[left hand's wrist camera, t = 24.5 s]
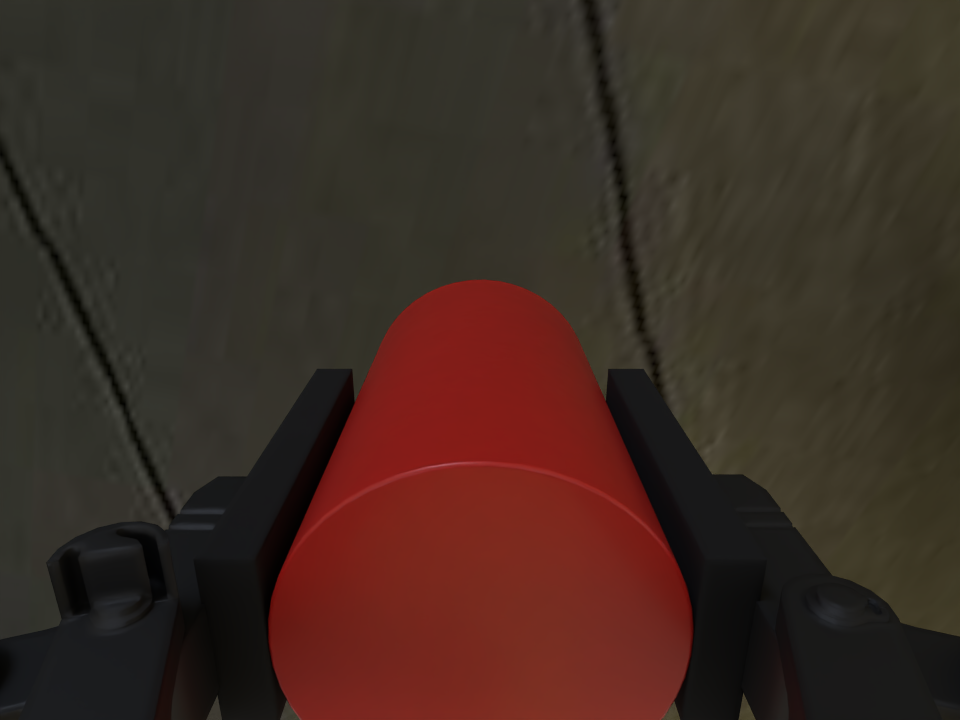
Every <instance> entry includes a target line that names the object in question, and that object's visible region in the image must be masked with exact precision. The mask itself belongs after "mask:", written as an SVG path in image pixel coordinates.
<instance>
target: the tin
mask: <svg viewBox="0 0 960 720" xmlns="http://www.w3.org/2000/svg"><path fill="white" fill-rule="evenodd" d="M693 634H694V626H693V611H692V605H691V601H690V597H689V592H688V588H687V585H686V583H685V580H684V578H683V576H682V573H681V571H680V568H679V566H678V564H677V561H676V559H675V557H674V555H673V552H672V550H671V548H670V546H669V543H668V541H667V539H666V537H665V534H664V532H663V530H662V527H661V525H660V523H659V521H658V518H657V516H656V514H655V512H654V509H653V507H652V505H651V503H650V500H649V498H648V496H647V494H646V491H645V489H644V487H643V485H642V482H641V480H640V478H639V475H638V473H637V471H636V469H635V466H634V464H633V462H632V460H631V457H630V455H629V453H628V451H627V448H626V446H625V444H624V442H623V439H622V437H621V435H620V433H619V430H618V428H617V426H616V423H615V421H614V419H613V417H612V414H611V412H610V410H609V408H608V405H607V403H606V401H605V399H604V396H603V394H602V392H601V390H600V387H599V385H598V383H597V381H596V378H595V376H594V374H593V372H592V369H591V367H590V365H589V362H588V360H587V358H586V356H585V353H584V351H583V349H582V347H581V344H580V342H579V340H578V338H577V336H576V334H575V332H574V331H573V329H572V327H571V326H570V324H569V323H568V322H567V320H566V319H565V318H564V317H563V315H562V314H561V313H560V312H559V311H558V310H557V309H555V308H554V307H553V306H552V305H551V304H550V303H548V302H547V301H546V300H544V299H543V298H541V297H540V296H538V295H536V294H535V293H533V292H531V291H529V290H527V289H524V288H522V287H519V286H516V285H513V284H509V283H505V282H500V281H492V280H468V281H462V282H456V283H452V284H449V285H445V286H442V287H440V288H437V289H435V290H433V291H431V292H428V293H427V294H425V295H423V296H422V297H420V298H419V299H417V300H415V301H414V302H413V303H412V304H411V305H409V306H408V307H407V308H406V309H405V310H404V311H403V312H402V313H401V314H400V315H399V316H398V317H397V318H396V319H395V321H394V322H393V324H392V325H391V326H390V328H389V329H388V331H387V333H386V335H385V337H384V339H383V341H382V343H381V345H380V347H379V350H378V352H377V354H376V356H375V359H374V361H373V363H372V365H371V368H370V370H369V372H368V374H367V377H366V379H365V381H364V383H363V386H362V388H361V390H360V392H359V395H358V397H357V399H356V401H355V404H354V406H353V408H352V410H351V413H350V415H349V417H348V419H347V422H346V424H345V426H344V429H343V431H342V433H341V435H340V438H339V440H338V442H337V444H336V447H335V449H334V451H333V453H332V456H331V458H330V460H329V462H328V465H327V467H326V469H325V471H324V474H323V476H322V478H321V480H320V483H319V485H318V487H317V489H316V492H315V494H314V496H313V498H312V501H311V503H310V505H309V508H308V510H307V512H306V514H305V517H304V519H303V521H302V523H301V526H300V528H299V530H298V532H297V535H296V537H295V539H294V541H293V544H292V546H291V548H290V550H289V553H288V555H287V557H286V559H285V562H284V564H283V566H282V568H281V571H280V573H279V575H278V578H277V581H276V584H275V588H274V591H273V594H272V597H271V603H270V609H269V616H268V643H269V648H270V654H271V659H272V665H273V668H274V671H275V674H276V677H277V680H278V682H279V685H280V688H281V689H282V691H283V693H284V695H285V697H286V699H287V701H288V703H289V704H290V706H291V708H292V709H293V710H294V712H295V713H296V714H297V716H298V717H299V719H300V720H661V719H662V718H663V717H664V716H665V714H666V713H667V711H668V710H669V708H670V706H671V705H672V703H673V702H674V700H675V699H676V697H677V695H678V693H679V690H680V688H681V686H682V684H683V681H684V679H685V677H686V673H687V669H688V666H689V662H690V658H691V653H692V643H693Z"/></svg>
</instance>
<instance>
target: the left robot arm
mask: <svg viewBox="0 0 960 720" xmlns="http://www.w3.org/2000/svg"><path fill="white" fill-rule="evenodd" d="M606 403H607V405H608V408H609V410H610V412H611V414H612V417H613V419H614V421H615V423H616V426H617V428H618V430H619V433H620V435H621V437H622V439H623V442H624V444H625V446H626V448H627V451H628V453H629V455H630V457H631V460H632V462H633V464H634V466H635V469H636V471H637V473H638V475H639V478H640V480H641V482H642V485H643V487H644V489H645V491H646V494H647V496H648V498H649V500H650V503H651V505H652V507H653V509H654V512H655V514H656V516H657V518H658V521H659V523H660V525H661V527H662V530H663V532H664V534H665V537H666V539H667V541H668V543H669V546H670V548H671V550H672V552H673V555H674V557H675V559H676V561H677V564H678V566H679V568H680V571H681V573H682V576H683V578H684V580H685V583H686V585H687V588H688V592H689V597H690V601H691V605H692V611H693V626H694V634H693V643H692V653H691V658H690V662H689V666H688V669H687V673H686V677H685V679H684V681H683V684H682V686H681V688H680V690H679V693H678V695H677V697H676V699H675V700H674V701H675V704H676V707H677V710H678V713H679V716H680V719H681V720H738V719H739V713H740V708H741V702H742V697H743V693H744V695H745V697H746V699H747V701H748V703H749V706H750V708H751V710H752V712H753V714H754V717H755V719H756V720H960V637H959V636H954V635H949V634H945V633H940V632H936V631H931V630H926V629H922V628H917V627H913V626H910V625H906V624H903V623H900V621H899V618H898V617H897V616H896V614H895V613H894V611H893V610H892V609H891V607H890V606H889V604H888V603H886V602H885V601H884V600H882V599H881V598H880V597H879V596H877V595H876V594H875V593H873V592H872V591H871V590H869V589H867V588H865V587H862V586H860V585H858V584H856V583H854V582H852V581H850V580H846V579H843V578H839V577H835V576H832V575H831V573H830V572H829V571H828V569H827V568H826V567H825V566H824V564H823V563H822V562H821V560H820V559H819V558H818V556H817V555H816V554H815V553H814V551H813V550H812V549H811V547H810V546H809V545H808V543H807V542H806V541H805V540H804V538H803V537H802V536H801V534H800V533H799V532H798V530H797V529H796V528H795V527H792V523H791V521H790V520H789V519H788V518H787V516H786V515H785V514H784V512H781V511H780V507H779V506H778V505H777V503H776V502H775V501H774V499H773V498H772V497H771V495H770V494H769V493H768V492H767V490H765V489H764V488H762V487H761V486H759V485H758V484H756V483H755V482H753V481H752V480H750V479H749V478H747V477H746V476H744V475H712V474H711V472H710V471H709V469H708V468H707V466H706V464H705V463H704V461H703V460H702V458H701V457H700V455H699V454H698V452H697V451H696V449H695V448H694V446H693V445H692V443H691V441H690V440H689V438H688V437H687V435H686V434H685V432H684V431H683V429H682V428H681V426H680V425H679V423H678V421H677V420H676V418H675V417H674V415H673V414H672V412H671V411H670V409H669V408H668V406H667V405H666V403H665V402H664V400H663V398H662V397H661V395H660V394H659V392H658V391H657V389H656V388H655V386H654V385H653V383H652V382H651V380H650V378H649V377H648V375H647V374H646V372H645V371H644V369H608V382H607V396H606ZM354 404H355V402H354V388H353V374H352V369H317V370H316V372H315V373H314V375H313V376H312V378H311V379H310V381H309V382H308V384H307V385H306V387H305V389H304V390H303V392H302V393H301V395H300V396H299V398H298V399H297V401H296V402H295V404H294V405H293V407H292V409H291V410H290V412H289V413H288V415H287V416H286V418H285V419H284V421H283V422H282V424H281V425H280V427H279V428H278V430H277V432H276V433H275V435H274V436H273V438H272V439H271V441H270V442H269V444H268V445H267V447H266V448H265V450H264V452H263V453H262V455H261V456H260V458H259V459H258V461H257V462H256V464H255V465H254V467H253V468H252V470H251V471H250V473H249V475H248V476H247V477H217V478H215V479H214V480H212V481H211V482H209V483H208V484H206V485H205V486H203V487H202V488H200V489H199V490H197V491H196V492H194V494H193V495H192V496H191V498H190V499H189V500H188V501H187V503H186V504H185V505H184V507H183V508H182V509H181V513H180V514H178V515H177V516H176V517H175V518H174V520H173V521H172V522H171V524H170V525H169V529H168V530H165V531H164V530H163V529H162V528H160V527H159V526H158V525H155V524H150V523H146V522H120V523H116V524H112V525H108V526H104V527H99V528H96V529H94V530H91V531H89V532H87V533H84V534H82V535H80V536H77V537H75V538H74V539H72V540H71V541H69V542H68V543H66V544H65V545H63V546H62V547H60V548H59V549H57V551H56V552H55V553H54V554H53V555H52V557H51V558H50V559H49V560H48V561H47V562H46V563H47V567H48V571H49V574H50V578H51V582H52V585H53V589H54V592H55V596H56V600H57V603H58V607H59V611H60V614H61V618H62V620H61V622H60V624H59V626H57V627H54V628H50V629H47V630H43V631H38V632H33V633H29V634H24V635H19V636H15V637H10V638H6V639H1V640H0V720H206V719H207V717H208V714H209V712H210V710H211V708H212V706H213V703H214V701H215V699H216V697H217V695H218V700H219V705H220V711H221V716H222V720H280V718H281V715H282V712H283V709H284V706H285V703H286V700H287V699H286V697H285V695H284V693H283V691H282V689H281V688H280V685H279V682H278V680H277V677H276V674H275V671H274V668H273V665H272V659H271V654H270V648H269V643H268V616H269V609H270V603H271V597H272V594H273V591H274V588H275V584H276V581H277V578H278V575H279V573H280V571H281V568H282V566H283V564H284V562H285V559H286V557H287V555H288V553H289V550H290V548H291V546H292V544H293V541H294V539H295V537H296V535H297V532H298V530H299V528H300V526H301V523H302V521H303V519H304V517H305V514H306V512H307V510H308V508H309V505H310V503H311V501H312V498H313V496H314V494H315V492H316V489H317V487H318V485H319V483H320V480H321V478H322V476H323V474H324V471H325V469H326V467H327V465H328V462H329V460H330V458H331V456H332V453H333V451H334V449H335V447H336V444H337V442H338V440H339V438H340V435H341V433H342V431H343V429H344V426H345V424H346V422H347V419H348V417H349V415H350V413H351V410H352V408H353V406H354Z"/></svg>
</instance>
